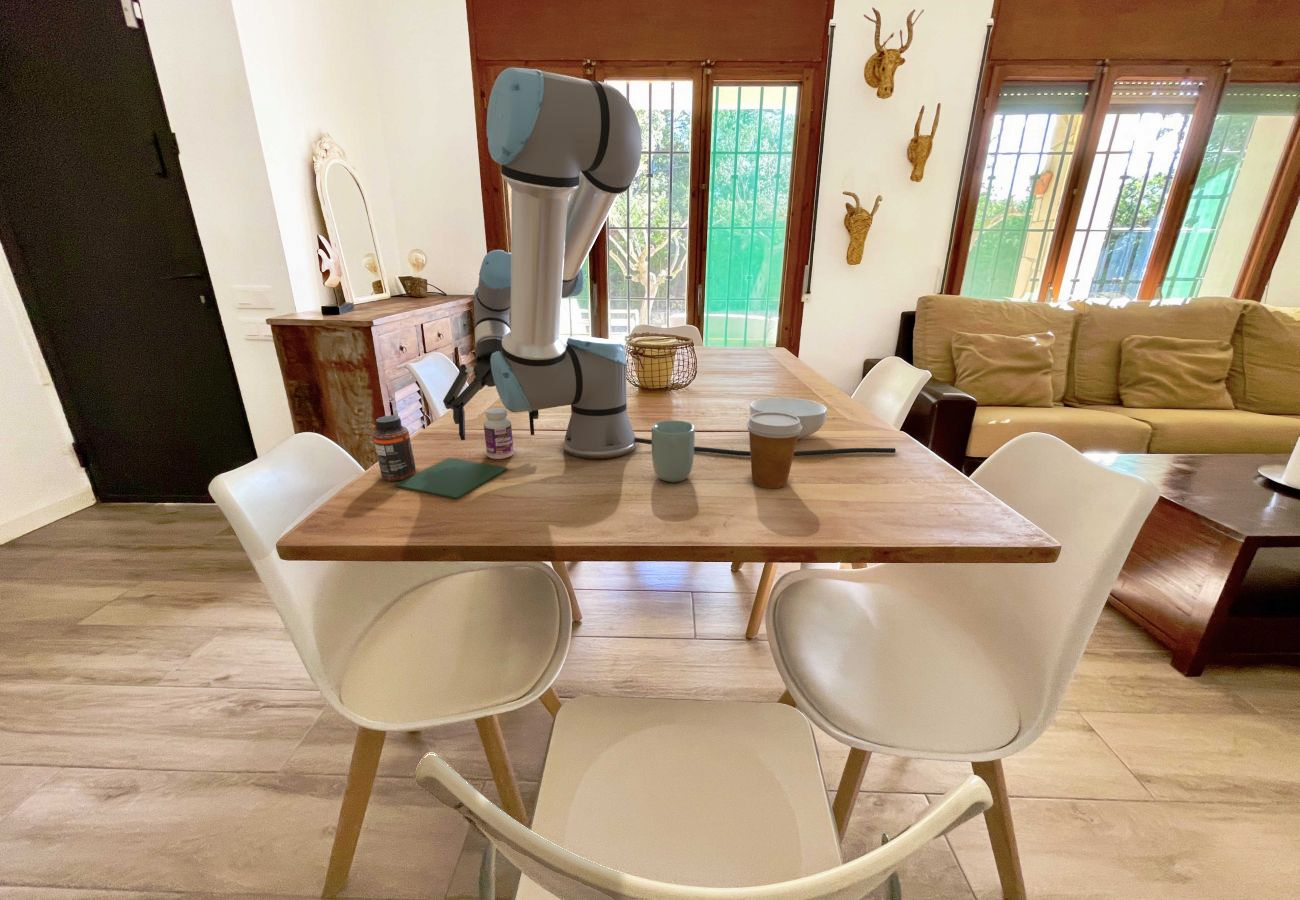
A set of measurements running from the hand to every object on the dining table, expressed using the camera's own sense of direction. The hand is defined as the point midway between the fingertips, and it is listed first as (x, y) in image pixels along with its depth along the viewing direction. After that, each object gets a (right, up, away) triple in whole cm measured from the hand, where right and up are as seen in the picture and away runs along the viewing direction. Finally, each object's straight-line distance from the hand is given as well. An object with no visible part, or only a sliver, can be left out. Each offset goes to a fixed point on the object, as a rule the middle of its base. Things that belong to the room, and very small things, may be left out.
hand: (497, 434), depth 104 cm
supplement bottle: (-17, -8, -7) cm, 20 cm away
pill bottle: (0, -4, +3) cm, 5 cm away
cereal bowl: (+62, 0, +16) cm, 64 cm away
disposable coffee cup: (+52, -9, -9) cm, 54 cm away
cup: (+35, -8, -8) cm, 37 cm away
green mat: (-6, -8, -8) cm, 13 cm away
